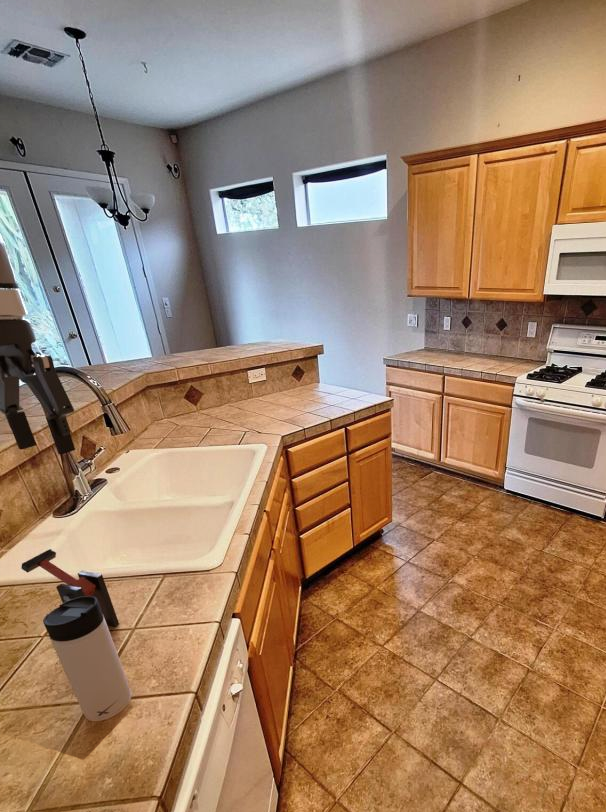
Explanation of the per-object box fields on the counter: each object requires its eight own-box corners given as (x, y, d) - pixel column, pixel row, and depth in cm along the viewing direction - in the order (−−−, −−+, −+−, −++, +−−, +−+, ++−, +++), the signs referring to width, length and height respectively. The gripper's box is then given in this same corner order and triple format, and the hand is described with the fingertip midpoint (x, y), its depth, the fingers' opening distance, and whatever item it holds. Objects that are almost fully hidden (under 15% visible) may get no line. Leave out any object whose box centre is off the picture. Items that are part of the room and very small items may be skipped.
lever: (20, 570, 73) (21, 561, 72) (49, 555, 78) (50, 546, 76) (75, 606, 73) (77, 597, 72) (100, 589, 78) (102, 580, 77)
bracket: (52, 647, 77) (26, 590, 72) (96, 615, 85) (75, 561, 80) (106, 661, 75) (83, 602, 69) (146, 626, 82) (128, 571, 77)
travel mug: (115, 730, 63) (72, 625, 54) (76, 724, 64) (27, 619, 55) (145, 695, 68) (110, 594, 60) (108, 689, 69) (68, 589, 61)
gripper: (72, 318, 71) (110, 448, 81) (-24, 315, 76) (23, 438, 86) (26, 321, 64) (74, 462, 74) (-75, 317, 69) (-18, 450, 79)
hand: (47, 449), depth 80 cm, fingers open, 9 cm apart
